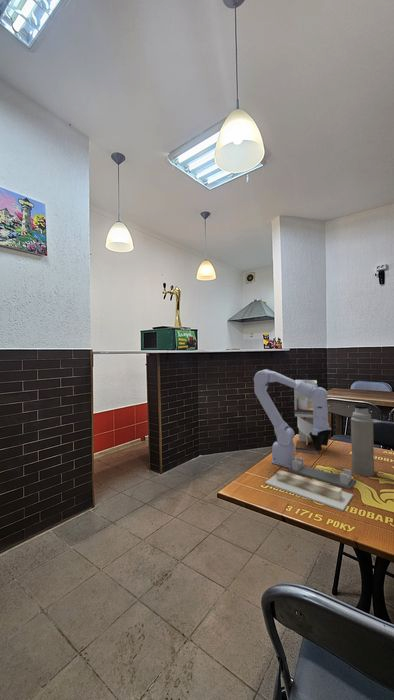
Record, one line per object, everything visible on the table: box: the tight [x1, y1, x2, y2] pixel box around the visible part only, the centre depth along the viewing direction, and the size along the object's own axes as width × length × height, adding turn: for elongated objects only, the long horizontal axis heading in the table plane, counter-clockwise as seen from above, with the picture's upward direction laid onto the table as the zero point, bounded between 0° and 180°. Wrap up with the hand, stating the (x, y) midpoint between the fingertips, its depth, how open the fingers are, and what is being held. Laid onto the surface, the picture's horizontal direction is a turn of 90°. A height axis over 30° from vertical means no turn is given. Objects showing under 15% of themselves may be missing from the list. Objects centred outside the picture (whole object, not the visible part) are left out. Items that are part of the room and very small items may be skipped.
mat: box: [264, 474, 354, 512], centre depth 103 cm, size 28×12×1 cm, turn 47°
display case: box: [293, 379, 319, 455], centre depth 144 cm, size 11×11×35 cm
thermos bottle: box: [350, 404, 375, 477], centre depth 116 cm, size 8×8×28 cm
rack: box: [287, 456, 357, 490], centre depth 113 cm, size 24×8×4 cm, turn 47°
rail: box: [275, 469, 343, 501], centre depth 103 cm, size 23×3×3 cm, turn 47°
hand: (321, 447), depth 119 cm, fingers open, 7 cm apart
